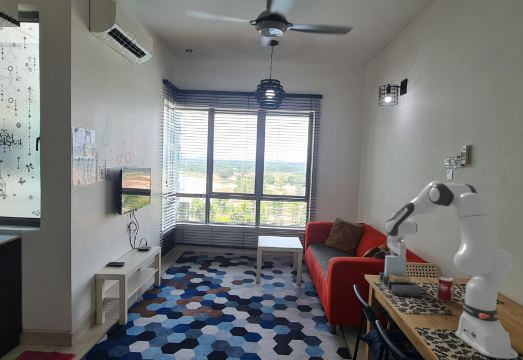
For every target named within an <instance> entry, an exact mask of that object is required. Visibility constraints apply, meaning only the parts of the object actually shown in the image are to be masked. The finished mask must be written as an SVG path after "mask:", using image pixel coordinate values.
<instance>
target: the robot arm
mask: <svg viewBox="0 0 523 360" xmlns="http://www.w3.org/2000/svg"><path fill="white" fill-rule="evenodd" d="M440 206H441V207H449V206H452V207H454V208H455V210H456V214H457V218H458V224H459V229H460V235H461V240H460V246H459V249H458V250H457V252H456V253H455V254H454V257H453V264H454V267H455V269H456V270H457V271H458V272H460V273H461V274H464V275H469V276H472V278H471V279H469V281H467V283H466V285H465V294H464V300H463V303H462V310H463V311H462V314H461V315H460V317H459V321H458V322H459V323H458V329H457V330H456V331H455V333H454V335H455V336H456V337H457V338H459V339H460V340H462V341H463V342H465V343H466V344H467V345H469V346H470V347H472V348H473V349H474V350H476V351H477V352H479V353H480V354H481V355H482V356H487V357H489V358H496V359H506V360H509V359H517V358H518V357H519V354H518V352H517V351H516V350H515V349H514V348H513V347H512V346H511V338H510V332H508V331H506V330H505V328H504V326H503V325H502V323H501V322H500V318H501V315H500V314H499V312H498V309H497V300H498V293H499V290H500V286H501V284H502V281H503V280H504V278H505V276H506V275H507V274H508V272H510V271H511V270H512V269H513V267H514V265H515V264H514V258H513V256H512V255H511V254H510V252H508V251H507V250H505V249H501V248H496V247H487V241H488V239H489V237H490V236H491V235H492V227H491V223H490V220H489V216H488V212H487V209H486V206H485V203H484V202H483V200H482V197H481V195H479V194H478V193H477V189H476V187H474V186H473V185H470V184H467V183H456V182H446V183H445V182H442V181H439V180H432V181H431V182H428V184H427V185H426V186H425V187H424V188H423V189H422V190H421V191H420V193H419V194H418V195H417V196H416V197H414V198H413V199H412V200H411V201H410V202H407V203H406V204H404V205H403V206H402V207H401V208H400V209H399V210H398V211H392V212H391V215H390V218H389V219H388V220H386V222H385V224H384V231H385V232H386V238H387V239H386V247H387V248H389V252H390V256H395V254H396V255H397V256H398V258H397V261H398V262H400V261H401V258H402V256H405V257H406V254H407V244H406V243H405V240H406V239H405V238H406V237H407V236H409V237H410V236H415V235H416V234H417V233H418V224H417V222H416V221H415V220H414V219H412V218H411V217H414V216H419V215H426V214H431V213H432V212H434V211H436V210H437V208H438V207H440Z"/></svg>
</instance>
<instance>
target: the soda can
mask: <svg viewBox="0 0 523 360" xmlns="http://www.w3.org/2000/svg"><path fill="white" fill-rule="evenodd" d="M454 283H455V282H454V279H453V278H451V277H449V276H439V277H438V280H437V293H436V297H437V299H438V300H439V301H440V302H443V303H452V302H453V299H454V298H453V297H454V295H453V294H454V293H453V292H454Z"/></svg>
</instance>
